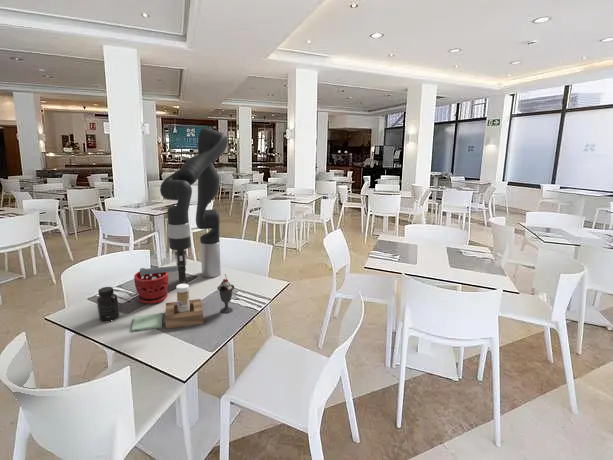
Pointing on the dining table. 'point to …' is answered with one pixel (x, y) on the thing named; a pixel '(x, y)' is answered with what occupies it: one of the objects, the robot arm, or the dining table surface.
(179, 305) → the sprinkles bottle
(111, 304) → the supplement bottle
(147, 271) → the bar
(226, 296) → the sundae
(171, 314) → the walnut dock
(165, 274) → the plant pot
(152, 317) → the green mat
